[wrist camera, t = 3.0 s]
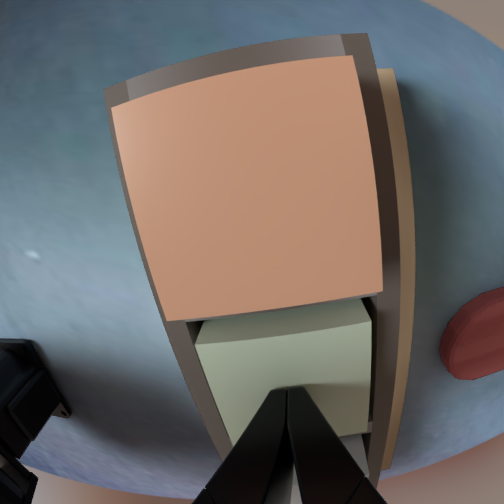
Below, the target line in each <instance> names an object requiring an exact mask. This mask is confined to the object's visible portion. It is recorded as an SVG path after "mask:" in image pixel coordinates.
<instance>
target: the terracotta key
mask: <svg viewBox="0 0 504 504" xmlns="http://www.w3.org/2000/svg"><path fill="white" fill-rule="evenodd" d="M111 110H112V116H113V121H114V127H115V132H116V137H117V142H118V147H119V152H120V157H121V162H122V166H123V171H124V175H125V179H126V184H127V188H128V192H129V196H130V200H131V204H132V208H133V212H134V216H135V219H136V223H137V227H138V231H139V234H140V238H141V241H142V245H143V248H144V252H145V255H146V258H147V262H148V265H149V268H150V272H151V275H152V278H153V281H154V284H155V287H156V291H157V294H158V297H159V300H160V303H161V306H162V309H163V311H164V314H165V317H166V320H167V321H174V320H185V319H195V318H204V317H213V316H222V315H230V314H239V313H247V312H254V311H262V310H269V309H277V308H284V307H291V306H297V305H304V304H311V303H317V302H323V301H329V300H336V299H342V298H347V297H353V296H359V295H364V294H370V293H375V292H381V291H383V278H382V253H381V236H380V223H379V211H378V200H377V191H376V182H375V174H374V166H373V159H372V152H371V145H370V139H369V132H368V127H367V121H366V115H365V110H364V105H363V100H362V95H361V90H360V85H359V81H358V76H357V72H356V68H355V63H354V59H353V55H350V56H335V57H324V58H314V59H305V60H297V61H290V62H283V63H276V64H270V65H264V66H258V67H253V68H248V69H243V70H238V71H233V72H228V73H224V74H220V75H215V76H211V77H207V78H203V79H199V80H195V81H192V82H188V83H184V84H181V85H177V86H174V87H171V88H167V89H164V90H161V91H158V92H155V93H151V94H148V95H145V96H143V97H140V98H137V99H134V100H131V101H128V102H126V103H123V104H120V105H117V106H115V107H112V108H111Z"/></svg>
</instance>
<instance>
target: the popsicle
mask: <svg viewBox="0 0 504 504" xmlns="http://www.w3.org/2000/svg"><path fill="white" fill-rule="evenodd" d="M439 351H440V355H441V360H442V362H443V364H444V366H445V367H446V369H447V371H448V372H450V373H451V374H452V375H453V376H454V377H455V378H457V379H459V380H475V379H478V378H481V377H483V376H486V375H489V374H492V373H495V372H498V371H500V370H503V369H504V287H501V288H498V289H495V290H491V291H488V292H485V293H482V294H480V295H479V296H477V297H476V298H474V299H473V300H471V301H470V302H468V303H467V304H465V305H464V306H462V307H461V308H460V310H459V311H458V312H457V313H456V315H455V316H454V317H453V318H452V320H451V321H450V322H449V323H448V325H447V328H446V330H445V332H444V334H443V336H442V338H441V343H440V349H439Z"/></svg>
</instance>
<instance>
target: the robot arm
mask: <svg viewBox="0 0 504 504" xmlns="http://www.w3.org/2000/svg"><path fill="white" fill-rule="evenodd" d="M52 415H53V416H58V417H63V418H70V416H71V415H72V412H71V410H70V408H69V407H68V405H67V404H66V402H65V401H64V399H63V398H62V396H61V394H60V393H59V391H58V390H57V388H56V386H55V385H54V383H53V381H52V380H51V378H50V376H49V375H48V373H47V371H46V369H45V368H44V366H43V364H42V362H41V360H40V358H39V357H38V355H37V353H36V351H35V349H34V347H33V346H32V344H31V343H30V342H29V341H27V340H7V339H0V504H31V503H32V499H33V495H34V492H35V488H36V485H37V482H38V477H37V476H36V475H34V474H33V473H32V472H29V471H28V470H27V469H26V468H25V467H24V466H23V465H22V464H21V463H20V462H19V461H18V460H17V459H16V458H18V459H20V458H21V456H22V455H23V453H24V452H25V450H26V449H27V447H28V446H29V444H30V443H31V441H34V440H35V439H36V437H37V436H38V434H39V433H40V431H41V430H42V429H43V427H44V426H45V424H46V423H47V421H48V420H49V418H50V417H51V416H52ZM294 466H295V471H296V476H297V481H298V486H299V491H300V496H301V501H302V504H387V503H386V501H385V500H384V499H383V498H382V496H381V495H380V494H379V493H378V491H377V490H376V489H375V487H374V486H373V485H372V483H371V482H370V481H369V479H368V478H367V477H365V474H364V472H363V471H362V470H361V468H360V467H359V465H358V464H357V463H356V461H355V460H354V458H353V457H352V456H351V454H350V453H349V451H348V450H347V448H346V447H345V446H344V444H343V443H342V441H341V440H340V438H339V437H338V435H337V434H336V433H335V431H334V430H333V428H332V427H331V425H330V424H329V422H328V421H327V420H326V418H325V417H324V415H323V414H322V412H321V411H320V409H319V408H318V406H317V405H316V403H315V402H314V401H313V399H312V398H311V396H310V395H309V393H308V392H307V390H306V389H305V387H303V386H298V387H290V388H288V390H287V389H286V388H281V389H272V390H270V391H269V393H268V395H267V396H266V398H265V399H264V401H263V403H262V404H261V406H260V407H259V409H258V410H257V412H256V413H255V415H254V417H253V418H252V420H251V421H250V423H249V424H248V426H247V427H246V429H245V430H244V432H243V433H242V435H241V436H240V438H239V439H238V441H237V442H236V444H235V445H234V447H233V448H232V449H231V451H230V452H229V454H228V455H227V457H226V458H225V460H224V461H223V462H222V464H221V465H220V467H219V468H218V469H217V471H216V472H215V474H214V475H213V476H212V478H211V479H210V480H209V482H208V483H207V485H206V486H205V488H206V489H203V490H202V491H201V492H200V494H199V495H198V496H197V498H196V499H195V500H194V501H193V503H192V504H290V501H291V493H292V483H293V474H294Z"/></svg>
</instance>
